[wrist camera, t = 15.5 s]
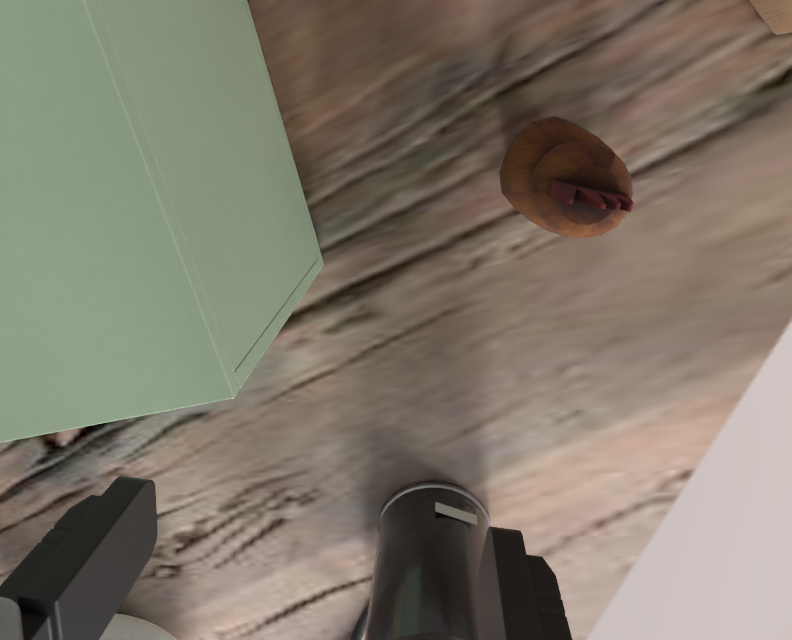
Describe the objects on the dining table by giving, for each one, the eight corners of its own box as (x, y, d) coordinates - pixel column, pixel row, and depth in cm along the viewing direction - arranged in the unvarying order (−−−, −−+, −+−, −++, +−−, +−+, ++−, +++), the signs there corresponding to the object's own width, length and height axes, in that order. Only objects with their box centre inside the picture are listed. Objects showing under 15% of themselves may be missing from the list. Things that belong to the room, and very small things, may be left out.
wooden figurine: (477, 178, 38) (503, 224, 24) (531, 99, 36) (593, 98, 22) (559, 234, 39) (630, 309, 25) (615, 160, 37) (727, 196, 23)
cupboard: (170, 298, 42) (-32, 449, 24) (69, 43, 36) (-301, -16, 18) (324, 264, 40) (234, 398, 22) (244, -9, 35) (33, -133, 16)
